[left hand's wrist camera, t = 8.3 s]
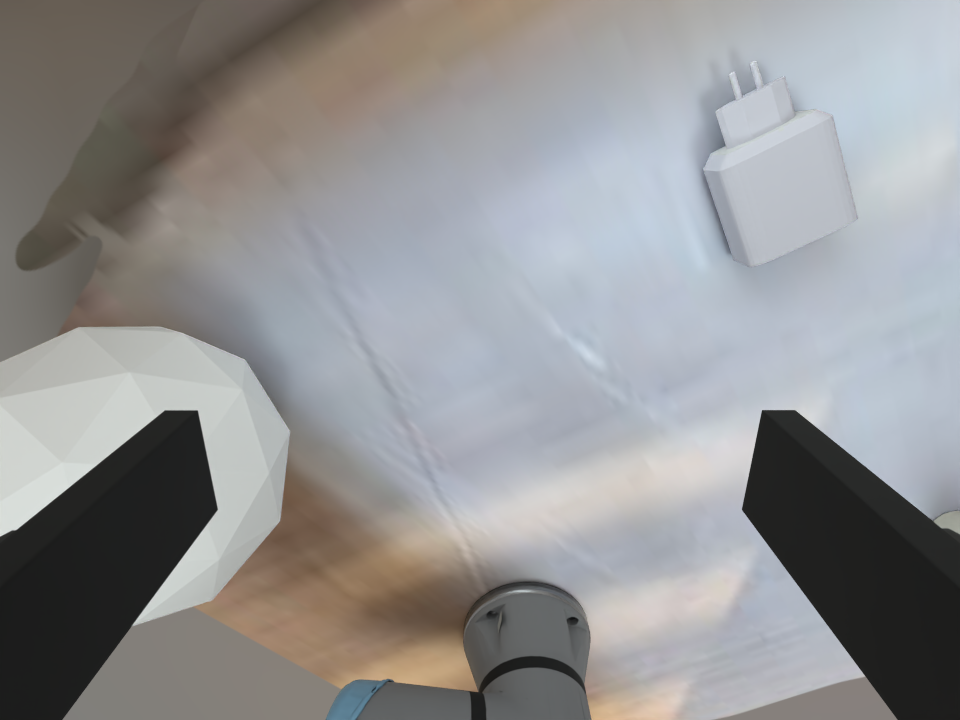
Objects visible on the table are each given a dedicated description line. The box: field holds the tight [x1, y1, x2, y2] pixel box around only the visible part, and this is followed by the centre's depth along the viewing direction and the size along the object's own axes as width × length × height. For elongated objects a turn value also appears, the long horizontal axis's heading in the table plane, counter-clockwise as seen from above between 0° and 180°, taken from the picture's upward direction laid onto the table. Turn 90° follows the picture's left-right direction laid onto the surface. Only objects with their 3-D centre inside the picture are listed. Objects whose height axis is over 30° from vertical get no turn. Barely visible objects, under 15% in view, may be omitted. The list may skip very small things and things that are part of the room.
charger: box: [703, 61, 858, 267], centre depth 45 cm, size 5×9×15 cm
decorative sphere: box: [0, 326, 290, 627], centre depth 45 cm, size 24×25×25 cm
